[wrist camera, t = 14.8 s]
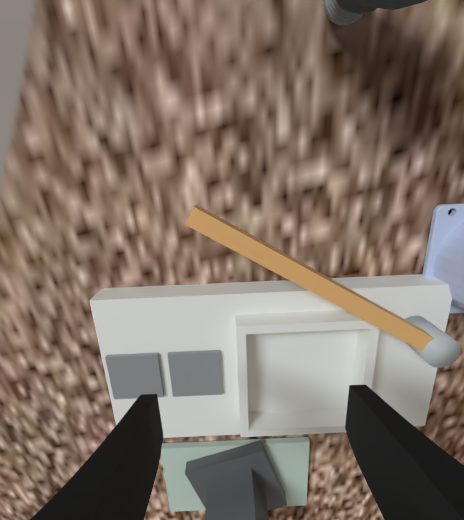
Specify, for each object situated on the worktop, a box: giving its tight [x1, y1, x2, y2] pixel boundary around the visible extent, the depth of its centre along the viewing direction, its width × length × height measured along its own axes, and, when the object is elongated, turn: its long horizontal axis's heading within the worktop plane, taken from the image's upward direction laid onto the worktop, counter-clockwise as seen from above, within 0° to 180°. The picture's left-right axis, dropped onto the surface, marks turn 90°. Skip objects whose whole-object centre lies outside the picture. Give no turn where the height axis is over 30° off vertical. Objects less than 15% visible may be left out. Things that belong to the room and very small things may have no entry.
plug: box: [185, 440, 287, 520], centre depth 22 cm, size 7×7×6 cm
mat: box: [161, 437, 310, 512], centre depth 25 cm, size 13×8×1 cm, turn 92°
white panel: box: [89, 274, 452, 438], centre depth 20 cm, size 24×12×4 cm, turn 92°
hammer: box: [185, 205, 460, 368], centre depth 16 cm, size 18×2×3 cm, turn 61°
